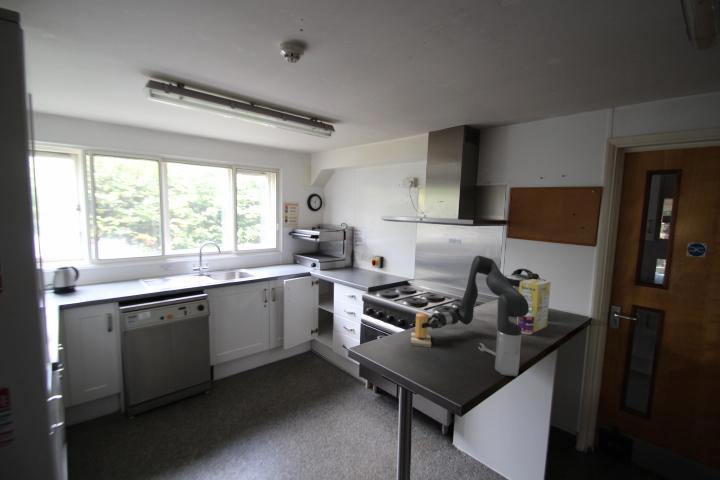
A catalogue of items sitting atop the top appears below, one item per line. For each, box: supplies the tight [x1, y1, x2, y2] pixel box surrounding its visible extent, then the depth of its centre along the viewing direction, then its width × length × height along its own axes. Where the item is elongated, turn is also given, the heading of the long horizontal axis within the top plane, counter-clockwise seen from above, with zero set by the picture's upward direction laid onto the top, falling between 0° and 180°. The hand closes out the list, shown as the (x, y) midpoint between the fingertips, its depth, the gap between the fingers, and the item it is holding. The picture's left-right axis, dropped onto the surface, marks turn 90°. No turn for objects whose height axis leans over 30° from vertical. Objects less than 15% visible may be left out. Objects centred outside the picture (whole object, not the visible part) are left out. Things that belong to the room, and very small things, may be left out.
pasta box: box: [516, 279, 551, 333], centre depth 193 cm, size 18×10×28 cm, turn 129°
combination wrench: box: [478, 342, 496, 357], centre depth 148 cm, size 4×1×20 cm
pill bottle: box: [518, 308, 534, 336], centre depth 182 cm, size 8×8×14 cm
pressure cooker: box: [504, 268, 547, 292], centre depth 219 cm, size 30×28×32 cm
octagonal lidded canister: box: [414, 312, 429, 338], centre depth 164 cm, size 6×6×11 cm
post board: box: [410, 332, 432, 348], centre depth 164 cm, size 14×10×8 cm
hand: (417, 323), depth 163 cm, fingers closed on octagonal lidded canister, 6 cm apart
